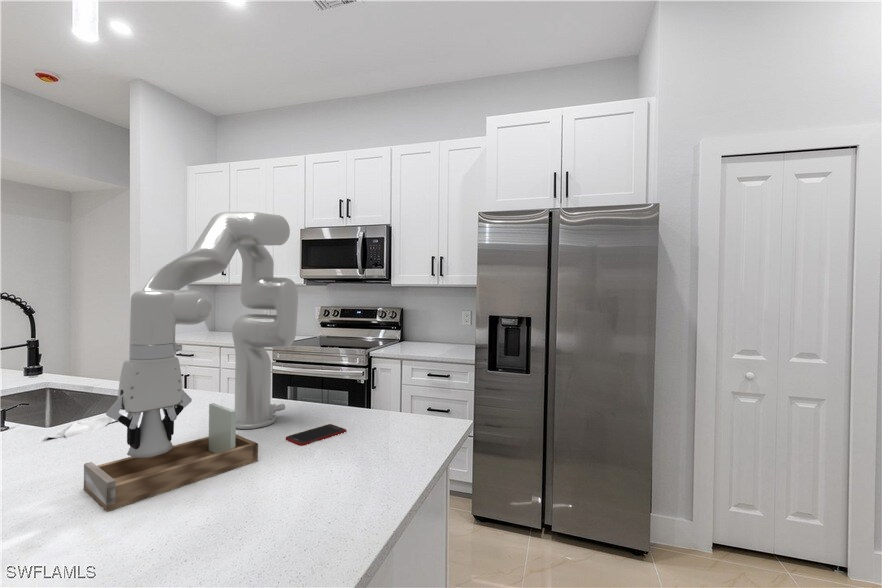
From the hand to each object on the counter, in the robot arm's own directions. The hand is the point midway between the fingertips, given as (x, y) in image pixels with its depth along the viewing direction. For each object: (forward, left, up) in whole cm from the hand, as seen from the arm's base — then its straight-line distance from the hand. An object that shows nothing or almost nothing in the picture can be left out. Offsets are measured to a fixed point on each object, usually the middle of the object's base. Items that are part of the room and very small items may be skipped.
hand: (150, 442), depth 84 cm
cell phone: (-38, +3, -9) cm, 39 cm away
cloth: (-4, -51, -9) cm, 52 cm away
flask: (0, 0, -2) cm, 2 cm away
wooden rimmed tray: (-5, 0, -8) cm, 10 cm away
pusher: (-14, 0, -7) cm, 16 cm away
